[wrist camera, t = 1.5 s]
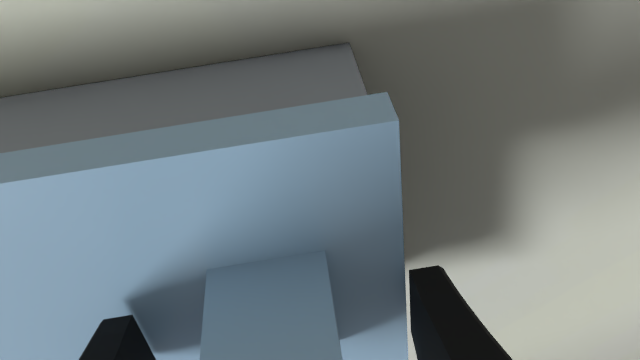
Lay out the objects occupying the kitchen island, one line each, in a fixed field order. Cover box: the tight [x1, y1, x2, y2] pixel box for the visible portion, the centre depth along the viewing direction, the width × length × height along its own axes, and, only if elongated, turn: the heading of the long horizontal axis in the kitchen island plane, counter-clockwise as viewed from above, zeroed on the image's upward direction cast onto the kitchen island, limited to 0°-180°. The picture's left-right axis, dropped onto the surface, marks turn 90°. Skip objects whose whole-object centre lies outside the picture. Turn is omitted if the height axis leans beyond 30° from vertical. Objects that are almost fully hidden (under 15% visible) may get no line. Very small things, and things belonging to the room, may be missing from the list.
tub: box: [0, 43, 367, 153], centre depth 14 cm, size 8×12×3 cm, turn 97°
